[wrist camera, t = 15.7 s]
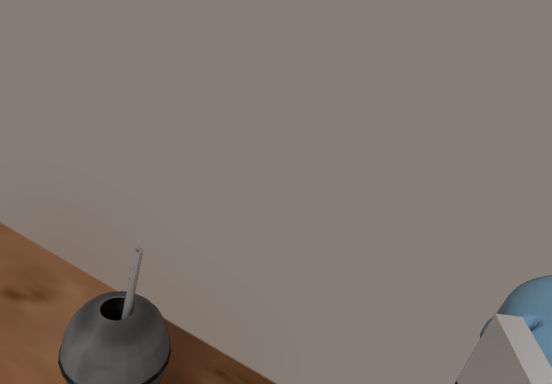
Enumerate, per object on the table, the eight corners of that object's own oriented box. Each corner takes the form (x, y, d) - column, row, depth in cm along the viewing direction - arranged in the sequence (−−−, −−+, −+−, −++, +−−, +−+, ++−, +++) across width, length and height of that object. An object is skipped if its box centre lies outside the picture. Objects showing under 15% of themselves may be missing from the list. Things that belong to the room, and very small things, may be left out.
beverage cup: (61, 419, 40) (46, 223, 29) (150, 395, 43) (164, 211, 33) (70, 509, 34) (56, 308, 24) (171, 473, 38) (196, 283, 27)
